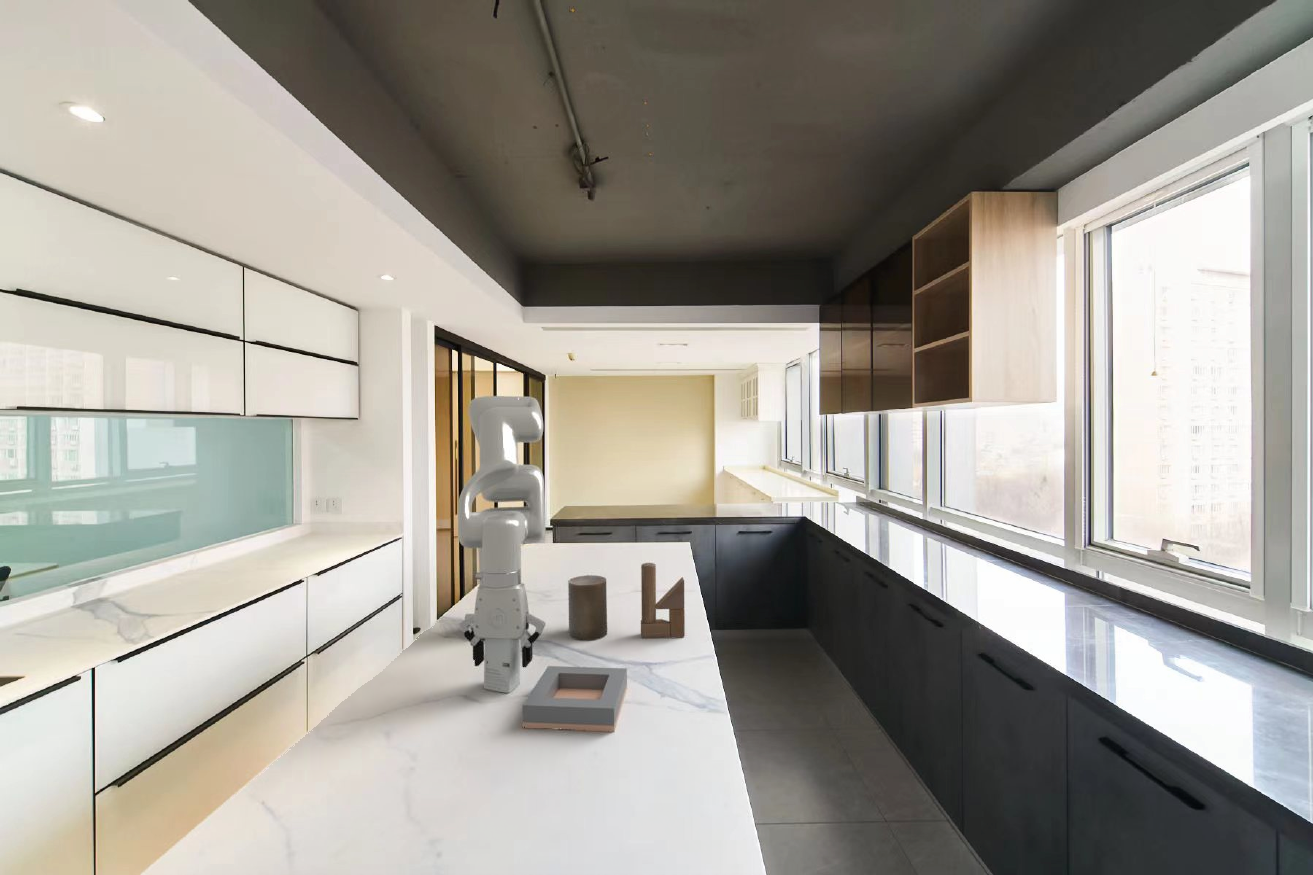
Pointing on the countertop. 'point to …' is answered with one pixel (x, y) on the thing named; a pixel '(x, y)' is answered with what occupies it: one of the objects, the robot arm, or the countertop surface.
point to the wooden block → (661, 607)
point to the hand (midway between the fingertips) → (502, 664)
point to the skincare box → (502, 664)
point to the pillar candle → (587, 607)
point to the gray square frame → (576, 699)
